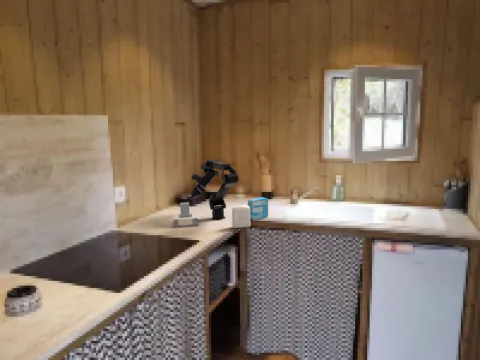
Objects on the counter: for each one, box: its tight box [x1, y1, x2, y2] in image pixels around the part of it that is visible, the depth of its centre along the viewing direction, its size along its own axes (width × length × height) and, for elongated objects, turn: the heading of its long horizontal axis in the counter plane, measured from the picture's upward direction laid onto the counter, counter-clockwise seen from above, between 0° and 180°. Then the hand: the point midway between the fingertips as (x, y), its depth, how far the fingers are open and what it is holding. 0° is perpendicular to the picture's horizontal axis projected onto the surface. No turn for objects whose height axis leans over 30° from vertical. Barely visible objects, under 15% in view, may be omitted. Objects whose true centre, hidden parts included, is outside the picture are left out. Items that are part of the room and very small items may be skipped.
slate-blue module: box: [179, 201, 191, 218], centre depth 225 cm, size 5×4×11 cm
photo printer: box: [231, 204, 251, 229], centre depth 214 cm, size 10×4×12 cm, turn 101°
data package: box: [247, 196, 269, 221], centre depth 231 cm, size 12×4×12 cm, turn 123°
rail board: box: [172, 212, 199, 228], centre depth 225 cm, size 14×15×4 cm
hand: (191, 196), depth 237 cm, fingers open, 9 cm apart
